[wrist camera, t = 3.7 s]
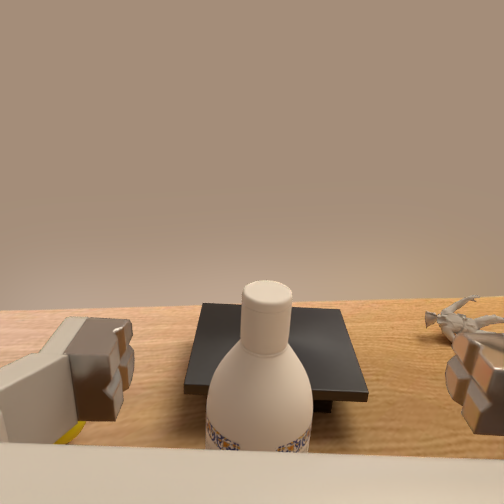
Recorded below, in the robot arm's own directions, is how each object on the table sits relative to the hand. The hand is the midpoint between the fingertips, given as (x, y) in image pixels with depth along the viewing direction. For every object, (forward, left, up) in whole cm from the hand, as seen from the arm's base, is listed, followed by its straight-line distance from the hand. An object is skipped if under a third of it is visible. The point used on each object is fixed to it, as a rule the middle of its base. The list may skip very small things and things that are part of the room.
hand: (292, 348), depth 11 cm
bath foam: (0, +13, -25) cm, 28 cm away
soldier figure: (+29, +40, -25) cm, 56 cm away
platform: (+2, +30, -25) cm, 39 cm away
